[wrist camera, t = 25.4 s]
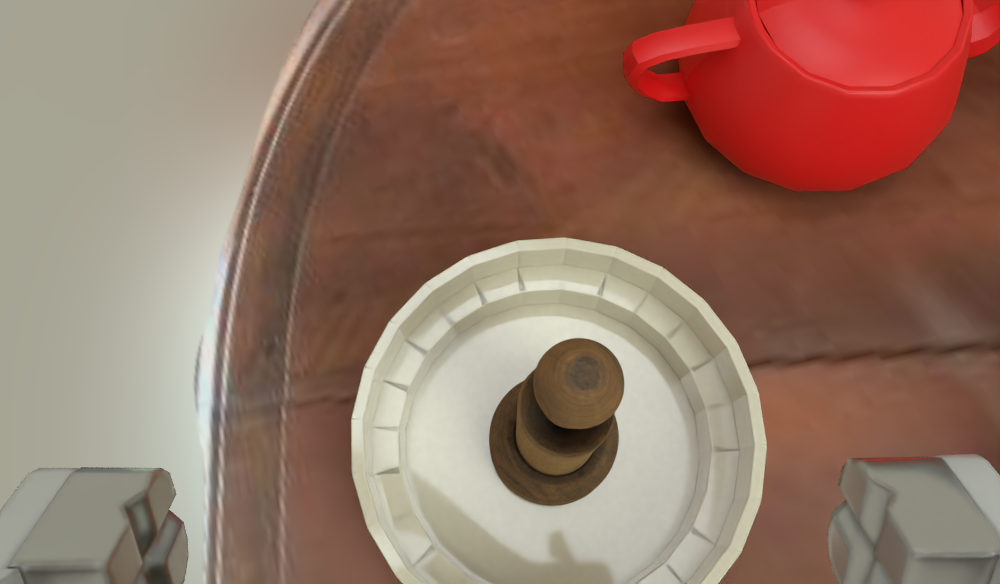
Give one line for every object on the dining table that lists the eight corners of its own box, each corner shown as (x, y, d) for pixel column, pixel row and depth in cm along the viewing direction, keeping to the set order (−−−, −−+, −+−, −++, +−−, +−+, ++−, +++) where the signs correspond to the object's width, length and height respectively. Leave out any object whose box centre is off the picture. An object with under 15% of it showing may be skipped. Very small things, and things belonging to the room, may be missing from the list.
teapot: (638, 246, 48) (681, 150, 36) (579, 16, 52) (600, -136, 40) (1052, 170, 49) (1224, 53, 37) (960, -48, 53) (1088, -214, 42)
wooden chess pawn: (529, 357, 45) (545, 241, 28) (636, 417, 44) (721, 336, 27) (466, 465, 43) (441, 414, 26) (575, 530, 42) (624, 522, 25)
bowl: (433, 697, 41) (421, 722, 35) (329, 337, 46) (304, 308, 40) (791, 564, 43) (836, 568, 37) (651, 232, 48) (671, 190, 42)
